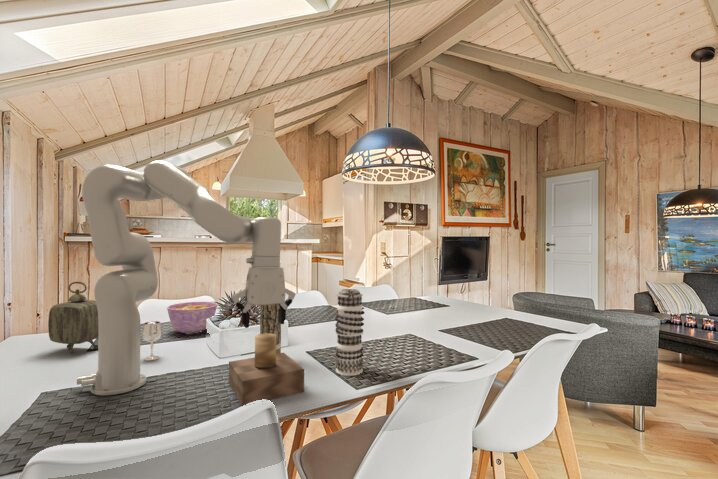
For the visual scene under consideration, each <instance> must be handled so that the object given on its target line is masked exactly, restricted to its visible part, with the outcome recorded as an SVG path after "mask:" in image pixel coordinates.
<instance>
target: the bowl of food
mask: <svg viewBox="0 0 718 479" xmlns="http://www.w3.org/2000/svg"><path fill="white" fill-rule="evenodd" d="M217 308H218V303H216V302H213V301H191V302H190V301H189V302H187V301H186V302H180V303H174V304H170V305H169V306H166V309H167V314H168V317H169V321H170V325H171V327H172V328H173V330H174V331H177V332H179V333H182V332H183V333H196V332H200V331H202V330H203V331H205V330H207V329H206V319H207V318H210V317H212V316H214V315H215V316H216V311H217ZM215 316H214V317H215ZM203 331H202V332H203Z"/></svg>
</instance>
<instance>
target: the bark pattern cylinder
mask: <svg viewBox="0 0 718 479" xmlns="http://www.w3.org/2000/svg"><path fill="white" fill-rule="evenodd" d="M279 308H280V306H279V305H278V304H273V305H259V310H260V314H259V315H260V316H259V320H260V322H259V334H265V333H271V334H275V335H276V354H278V353H282V352H281V350H282V324H281V323H279V322H278V309H279Z"/></svg>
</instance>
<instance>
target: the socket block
mask: <svg viewBox="0 0 718 479" xmlns="http://www.w3.org/2000/svg"><path fill="white" fill-rule="evenodd" d="M228 385H229V386H230V388H231V387H232V388H231V389H233V390H232V391H233V393H234V392H235V393H234V395H235V394H236V395H235V397H236V398H237V397H238V398H237V400H238V399H239V400H238V402H239V403H240V404H241V406H242V405H244V404H247V403H249V402H253V401H256V400H262V399H268V400H267V401H269V400H275V399H277V398H283V397H287V396H292V395H295V394H301V393H304V392H305V368H304V367H302V366H301V365H300V364H299V363H297V362H296V360H294V359H292V358H291V357H290V356H289V355H287V354H286V353H285V352H281V353H278V354H276V366H274V367H272V368H269V369H261V370H259V369H258V368H255V356H254V357H250V358H243V359H237V360H231V361H228Z"/></svg>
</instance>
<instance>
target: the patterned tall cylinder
mask: <svg viewBox="0 0 718 479" xmlns="http://www.w3.org/2000/svg"><path fill="white" fill-rule="evenodd" d="M336 296H337V304H336V306H337V307H336V311H335V312H334V315H335V317H334V318H335V319H334V320H335V321H336V323H335V330H334V331H335V334H336V335H337V341H336V347H335V351H336V352H335V356H336V358H335V373H336V374H338V375H340V376H346V377H349V376H359V375H360V373H361V374H362V373H363V370H364V369H363V367H364V364H363V362H364V358H363V357H364V353H363V351H364V349H363V348H364V347H363V342H362V335H363V334H364V329H363V328H362V327H363V326H364V325H365V323H364V322H363V321H364V320H365V318H364V317H362V316H363V315H364V314H365V311H364V309H365V307H363V304H362V303H363V302H362V301H363V298H362V296H363V293H362V294H361V292H360V290H358V289H354V288H346V289H340V291H339V292H338V293H337V294H336Z"/></svg>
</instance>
